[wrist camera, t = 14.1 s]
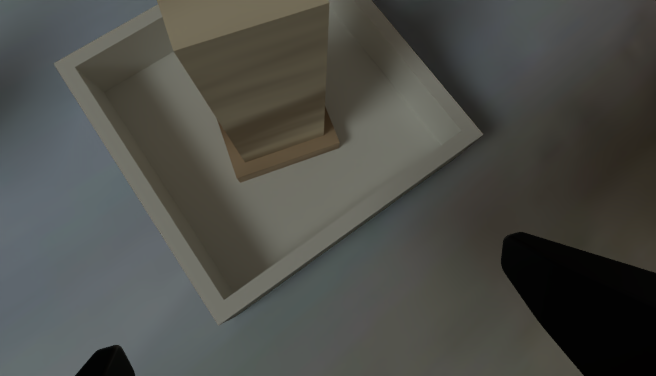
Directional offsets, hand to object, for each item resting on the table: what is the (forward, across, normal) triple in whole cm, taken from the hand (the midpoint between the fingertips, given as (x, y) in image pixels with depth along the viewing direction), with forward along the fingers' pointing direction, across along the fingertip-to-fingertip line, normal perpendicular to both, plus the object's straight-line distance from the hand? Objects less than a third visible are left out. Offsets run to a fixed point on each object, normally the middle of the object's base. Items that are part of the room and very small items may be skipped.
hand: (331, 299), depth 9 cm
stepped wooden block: (+16, -1, 0) cm, 16 cm away
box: (+16, -1, +1) cm, 16 cm away
